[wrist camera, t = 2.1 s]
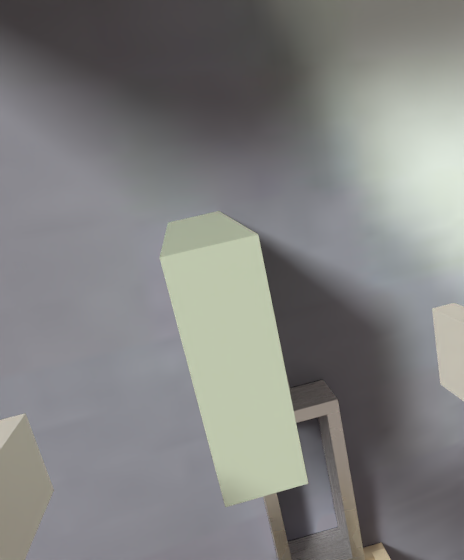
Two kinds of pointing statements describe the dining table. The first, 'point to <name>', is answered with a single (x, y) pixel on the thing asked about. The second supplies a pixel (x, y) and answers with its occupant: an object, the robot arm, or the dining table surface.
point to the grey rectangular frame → (346, 537)
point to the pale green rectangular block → (233, 354)
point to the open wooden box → (375, 552)
